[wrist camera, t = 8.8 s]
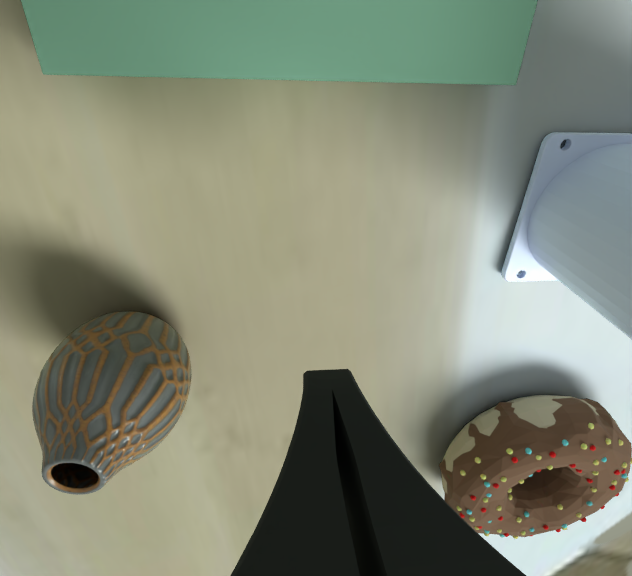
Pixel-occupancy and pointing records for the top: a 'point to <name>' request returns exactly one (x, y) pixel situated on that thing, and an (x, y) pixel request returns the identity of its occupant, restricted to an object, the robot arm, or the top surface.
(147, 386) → the vase
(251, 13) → the board
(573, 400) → the donut
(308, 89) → the top surface
